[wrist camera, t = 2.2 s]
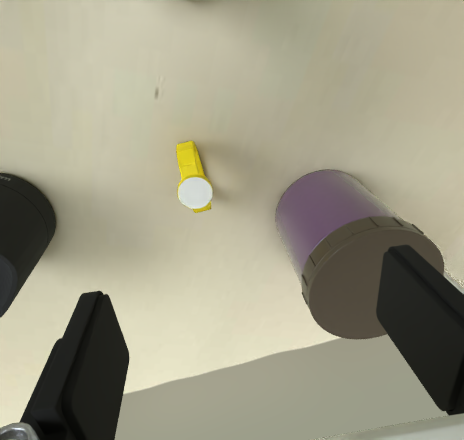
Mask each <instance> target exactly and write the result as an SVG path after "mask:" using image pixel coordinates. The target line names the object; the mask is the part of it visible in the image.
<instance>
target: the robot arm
mask: <svg viewBox="0 0 464 440" xmlns="http://www.w3.org/2000/svg"><path fill="white" fill-rule="evenodd" d="M376 315H377V318H378V320H379V322H380V324H381V325H382V326H383V328H384V329H385V331H386V332H387V334H388V335H389V337H390V338H391V340H392V341H393V342H394V344H395V345H396V347H397V348H398V349H399V351H400V353H401V354H402V355H403V357H404V358H405V360H406V361H407V363H408V364H409V366H410V367H411V369H412V370H413V372H414V373H415V374H416V376H417V377H418V379H419V380H420V382H421V383H422V384H423V386H424V388H425V389H426V390H427V392H428V393H429V395H430V396H431V398H432V399H433V401H434V402H435V404H436V405H437V406H438V407H439V409H441V410H442V411H446V412H447V414H448V415H449V416H444V417H438V418H431V419H426V420H420V421H414V422H408V423H403V424H397V425H391V426H385V427H380V428H375V429H368V430H363V431H357V432H351V433H346V434H341V435H335V436H329V437H323V438H318V439H312V440H464V294H463V293H462V292H460V291H459V290H458V289H457V288H456V287H455V286H454V285H453V284H452V283H451V282H449V281H448V280H447V279H446V278H445V277H444V276H443V275H442V274H441V273H440V272H438V271H437V270H436V269H435V268H434V267H433V266H432V265H431V264H430V263H429V262H427V261H426V260H425V259H424V258H423V257H422V256H421V255H420V254H419V253H418V252H416V251H415V250H414V249H413V248H412V247H411V246H410V245H407V244H405V245H399V246H392V247H389V249H388V251H387V252H385V253H384V255H383V262H382V269H381V277H380V285H379V292H378V300H377V307H376ZM128 365H129V352H128V348H127V346H126V343H125V340H124V337H123V334H122V331H121V329H120V326H119V323H118V320H117V317H116V314H115V312H114V309H113V306H112V303H111V300H110V298H109V296H108V295H107V294H105V295H103V293H102V292H101V291H96V292H89V293H83V294H82V295H81V296H80V298H79V301H78V303H77V305H76V308H75V310H74V312H73V315H72V317H71V319H70V321H69V324H68V326H67V328H66V331H65V333H64V335H63V338H61V339H59V340H57V341H56V343H55V345H54V347H53V349H52V351H51V353H50V355H49V358H48V360H47V362H46V364H45V367H44V369H43V371H42V373H41V376H40V378H39V380H38V382H37V384H36V387H35V389H34V391H33V393H32V396H31V398H30V400H29V402H28V404H27V407H26V409H25V411H24V413H23V416H22V418H21V420H20V422H19V423H12V424H9V425H7V426H4V427H2V428H0V440H114V439H115V433H116V428H117V422H118V418H119V412H120V407H121V402H122V396H123V391H124V386H125V381H126V375H127V370H128Z"/></svg>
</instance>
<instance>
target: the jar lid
mask: <svg viewBox="0 0 464 440" xmlns="http://www.w3.org/2000/svg"><path fill="white" fill-rule="evenodd" d="M405 244H407V245H410V246H411V247H412V248H413V249H414V250H415V251H416V252H418V253H419V254H420V255H421V256H422V257H423V258H424V259H425V260H426V261H427V262H429V263H430V264H431V265H432V266H433V267H434V268H435V269H436V270H437V271H438V272H440V273H441V274H442V275H443V276H444V262H443V258H442V255H441V253H440V251H439V249H438V248H437V246H436V245H435V244H434V243H433V242H432V241H431V240H430V239H428V238H427V237H426V236H425V235H424V233H423V232H422V231H421V230H419V229H418V228H417V227H416V226H415V225H413V224H412V225H411V224H410V223H408V222H406V221H404V220H401V219H398V218H395V217H387V216H375V217H371V216H370V217H367V218H362V219H359V220H356V221H352V222H350V223H348V224H345V225H343V226H341V227H340V228H338V229H336V230H334V231H333V232H332V233H330V234H329V235H328V236H326V237H325V238H324V239H323V240H322V241H321V242H320V243H319V244H318V245H317V246H316V247H315V248H314V250H313V251H312V253H311V254H310V255H309V257H308V259H307V261H306V263H305V266H304V269H303V273H302V274H301V276H302V281H301V285H302V295H303V297H304V300H305V302H306V304H307V305H308V307H309V309H310V312H311V314H312V316H313V318H314V320H315V321H316V322H317V324H318V325H319V326H321V327H322V328H323V329H324V330H326V331H327V332H329V333H331V334H333V335H335V336H339V337H342V338H347V339H368V338H374V337H379V336H382V335H386V334H387V332H386V331H385V329H384V328H383V326H382V325H381V324H380V322H379V320H378V318H377V315H376V307H377V300H378V292H379V285H380V277H381V269H382V262H383V255H384V253H385V252H387V251H388V249H389V247H392V246H399V245H405Z"/></svg>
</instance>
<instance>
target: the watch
mask: <svg viewBox="0 0 464 440" xmlns="http://www.w3.org/2000/svg"><path fill="white" fill-rule="evenodd" d="M176 153H177V159H178V165H179V169H180V173H181V177H182V180H181V181H180V183H179V184H178V189H177V195H178V199H179V200H180V202H181V203H182V204H183V205H184V206H186V207H188V208H192V209H193V211H194V212H195V213H198V212H202V211H206V210H210V209H211V199H212V196H213V189H212V185H211V183H210V181H209V180H208V179H207V178H206V177H205V174H204V171H203V168H202V164H201V161H200V158H199V154H198V150H197V148H196V145H195V143H194V142H193V141H189V142H185V143H181V144H177V146H176Z"/></svg>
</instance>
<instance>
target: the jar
mask: <svg viewBox="0 0 464 440" xmlns="http://www.w3.org/2000/svg"><path fill="white" fill-rule="evenodd" d="M370 216H371V217H375V216H387V217H395V218H398V219H401V220H403V219H402V218H400V217H399V216H398V215H397V214H396V213H395V212H393V211H392V210H391V209H390V208H389V207H388V206H386V205H385V204H384V203H383V202H382V201H381V200H379V199H378V198H377V197H376V196H375V195H374V194H372V193H371V192H370V191H369V190H368V189H367V188H365V187H364V186H363V185H362V184H361V183H360V182H358V181H357V180H356V179H355V178H354V177H352V176H351V175H349V174H347V173H344V172H341V171H337V170H321V171H316V172H313V173H310V174H307V175H305V176H303V177H301V178H300V179H298V180H297V181H296V182H294V183H293V184H292V185H291V186H290V187H289V188H288V189H287V190H286V191H285V193H284V194H283V196H282V197H281V199H280V201H279V204H278V206H277V210H276V227H277V230H278V233H279V235H280V237H281V240H282V242H283V244H284V247H285V249H286V251H287V253H288V256H289V258H290V260H291V263H292V265H293V267H294V270H295V272H296V274H297V277H298V279H299V281H300V283H301V281H302V276H301V274H302V273H303V269H304V266H305V263H306V261H307V259H308V257H309V255H310V254H311V253H312V251H313V250H314V248H315V247H316V246H317V245H318V244H319V243H320V242H321V241H322V240H323V239H324V238H325V237H326V236H328V235H329V234H330V233H332V232H333V231H334V230H336V229H338V228H340V227H341V226H343V225H345V224H348V223H350V222H352V221H356V220H359V219H362V218H367V217H370ZM301 286H302V285H301Z"/></svg>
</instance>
